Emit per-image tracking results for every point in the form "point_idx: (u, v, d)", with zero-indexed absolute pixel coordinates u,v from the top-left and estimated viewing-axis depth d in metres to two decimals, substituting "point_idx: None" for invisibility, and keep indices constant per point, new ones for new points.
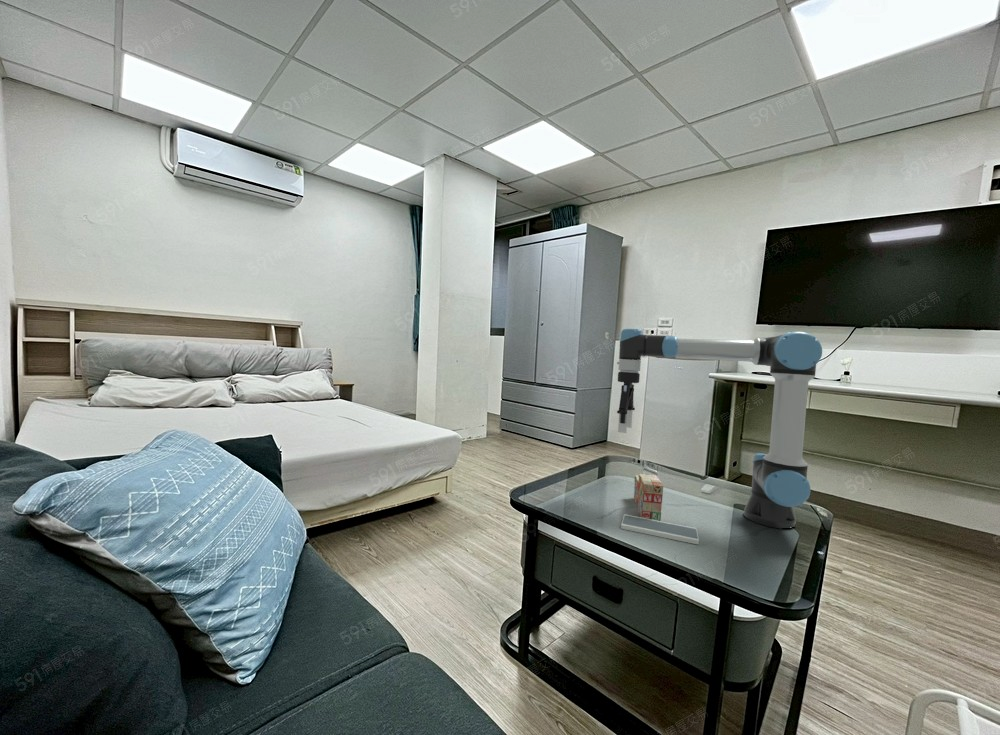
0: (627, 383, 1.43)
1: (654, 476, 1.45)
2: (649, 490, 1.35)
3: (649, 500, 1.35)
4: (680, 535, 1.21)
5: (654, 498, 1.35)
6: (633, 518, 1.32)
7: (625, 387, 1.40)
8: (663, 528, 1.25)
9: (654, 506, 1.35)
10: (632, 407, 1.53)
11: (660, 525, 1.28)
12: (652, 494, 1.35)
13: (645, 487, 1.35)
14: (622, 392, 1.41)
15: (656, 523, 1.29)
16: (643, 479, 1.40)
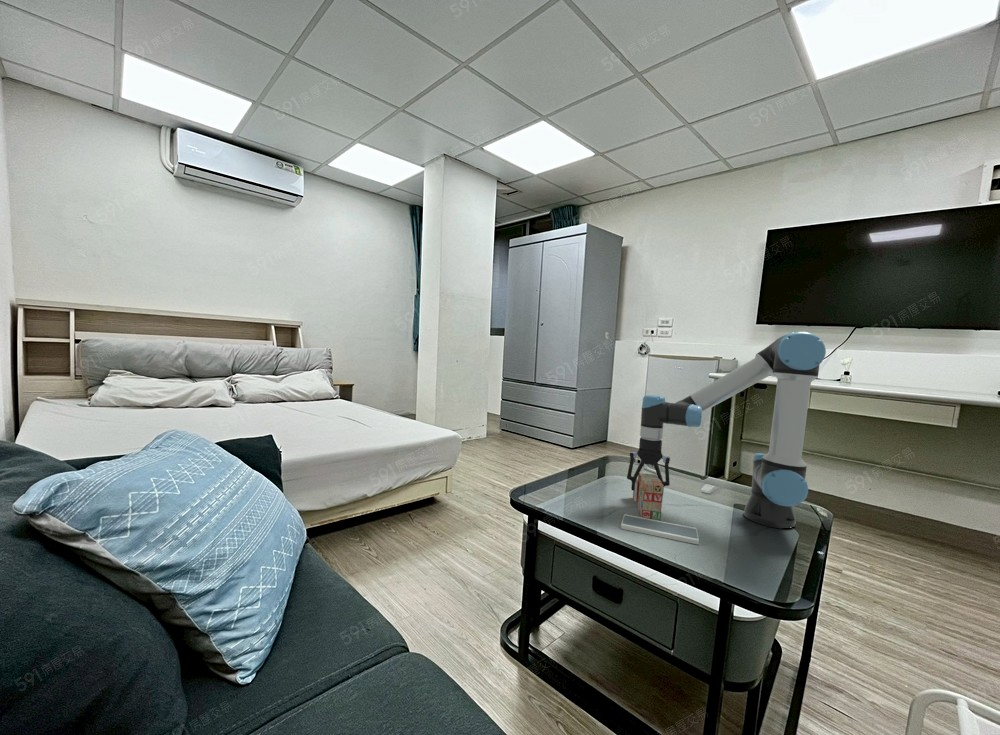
0: (639, 448, 1.46)
1: (654, 475, 1.45)
2: (649, 489, 1.35)
3: (649, 499, 1.36)
4: (680, 535, 1.21)
5: (654, 497, 1.35)
6: (633, 518, 1.32)
7: (630, 454, 1.47)
8: (663, 528, 1.25)
9: (654, 505, 1.35)
10: None
11: (660, 525, 1.28)
12: (652, 493, 1.35)
13: (645, 486, 1.36)
14: None
15: (656, 523, 1.29)
16: (643, 478, 1.41)
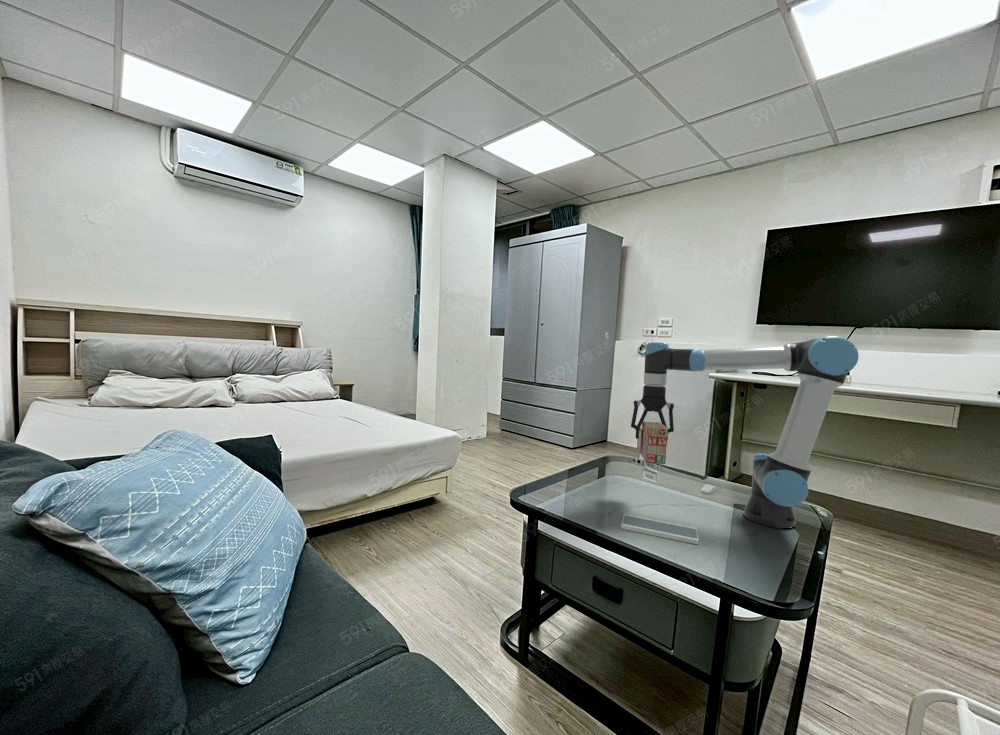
0: None
1: (658, 423, 1.45)
2: (654, 433, 1.35)
3: (654, 443, 1.35)
4: (680, 535, 1.21)
5: (659, 441, 1.35)
6: (633, 518, 1.32)
7: None
8: (663, 528, 1.25)
9: (659, 449, 1.35)
10: None
11: (660, 525, 1.28)
12: (657, 437, 1.35)
13: (650, 430, 1.35)
14: None
15: (656, 523, 1.29)
16: (647, 424, 1.40)
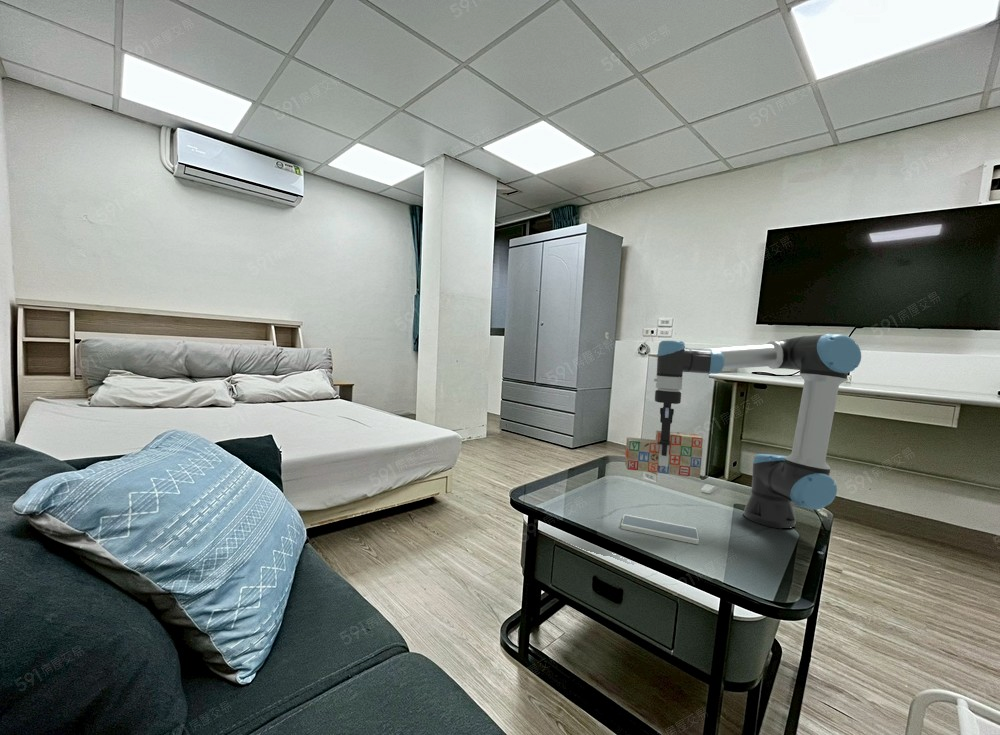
0: (668, 404, 1.23)
1: None
2: None
3: None
4: (680, 535, 1.21)
5: None
6: (633, 518, 1.32)
7: (667, 414, 1.20)
8: (663, 528, 1.25)
9: None
10: None
11: (660, 525, 1.28)
12: None
13: None
14: (663, 419, 1.21)
15: (656, 523, 1.29)
16: (684, 435, 1.23)
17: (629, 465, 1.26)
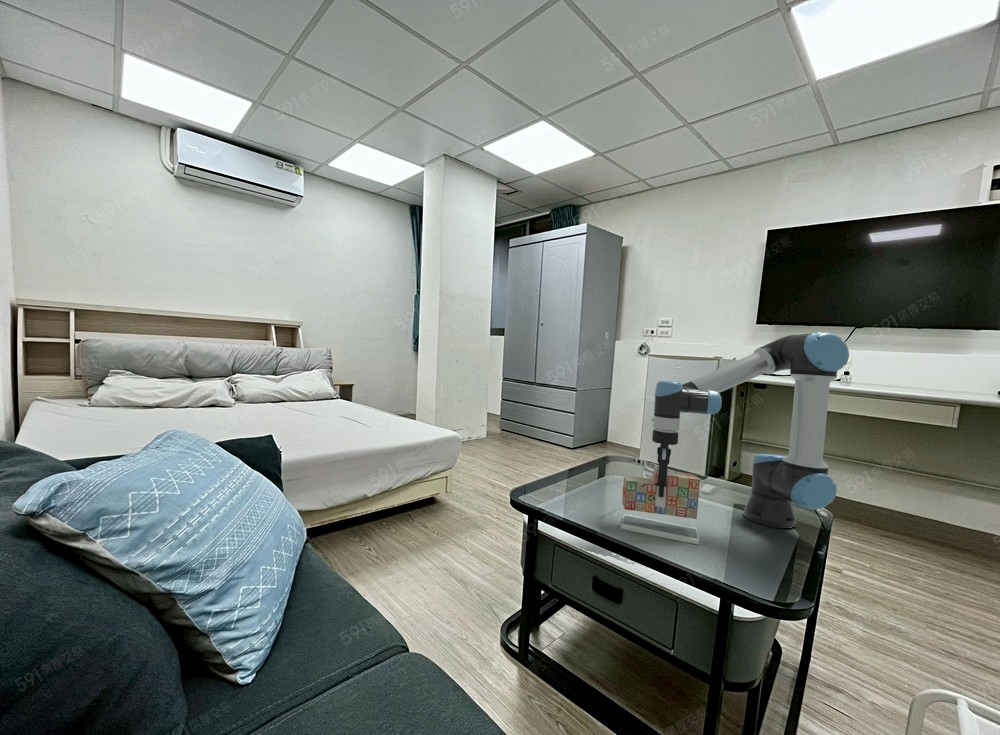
0: (665, 445, 1.23)
1: None
2: None
3: None
4: (680, 535, 1.21)
5: None
6: (633, 518, 1.32)
7: (664, 456, 1.20)
8: (663, 528, 1.25)
9: None
10: None
11: (660, 525, 1.28)
12: None
13: None
14: (660, 461, 1.21)
15: (656, 523, 1.29)
16: (681, 476, 1.23)
17: (626, 505, 1.26)
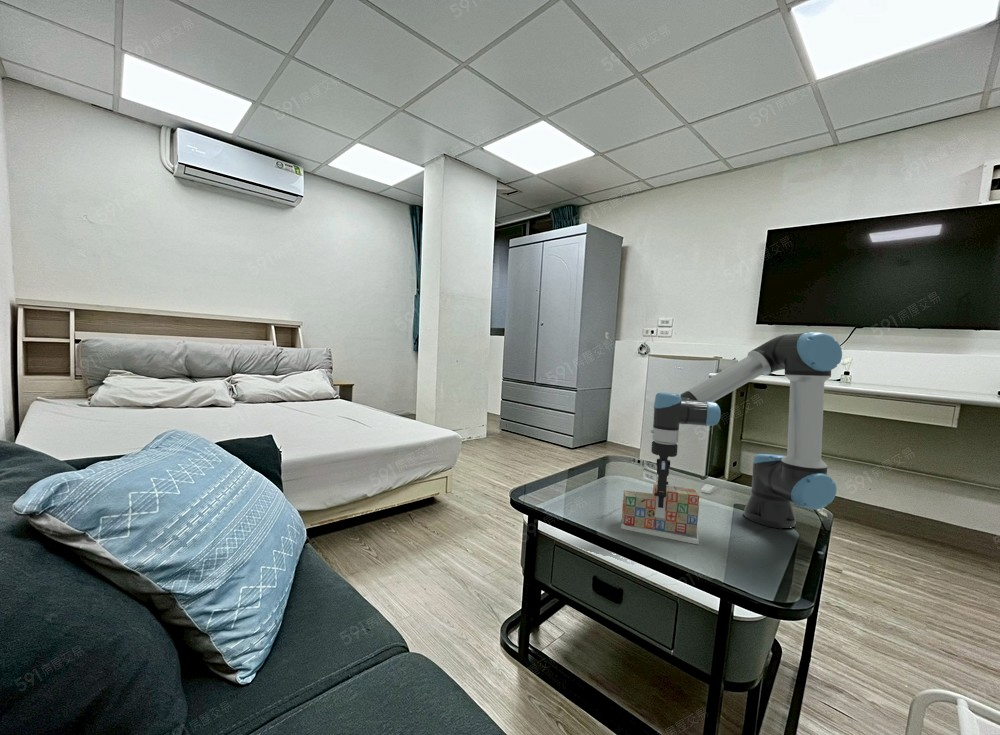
0: (664, 457, 1.23)
1: None
2: None
3: None
4: (680, 535, 1.21)
5: None
6: None
7: (663, 465, 1.20)
8: None
9: None
10: None
11: None
12: None
13: None
14: (660, 471, 1.20)
15: None
16: (681, 492, 1.23)
17: (625, 520, 1.26)
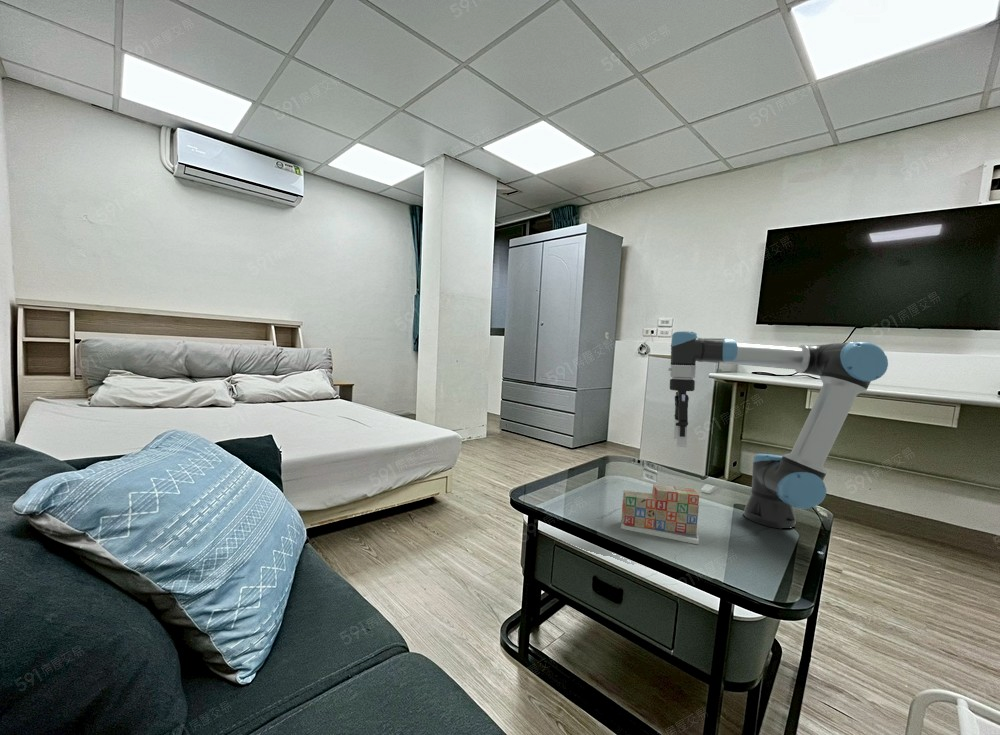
0: (683, 392, 1.30)
1: (659, 485, 1.29)
2: None
3: None
4: (680, 535, 1.21)
5: None
6: None
7: (683, 396, 1.27)
8: None
9: None
10: None
11: None
12: None
13: None
14: (680, 402, 1.27)
15: None
16: (680, 492, 1.23)
17: (626, 520, 1.26)
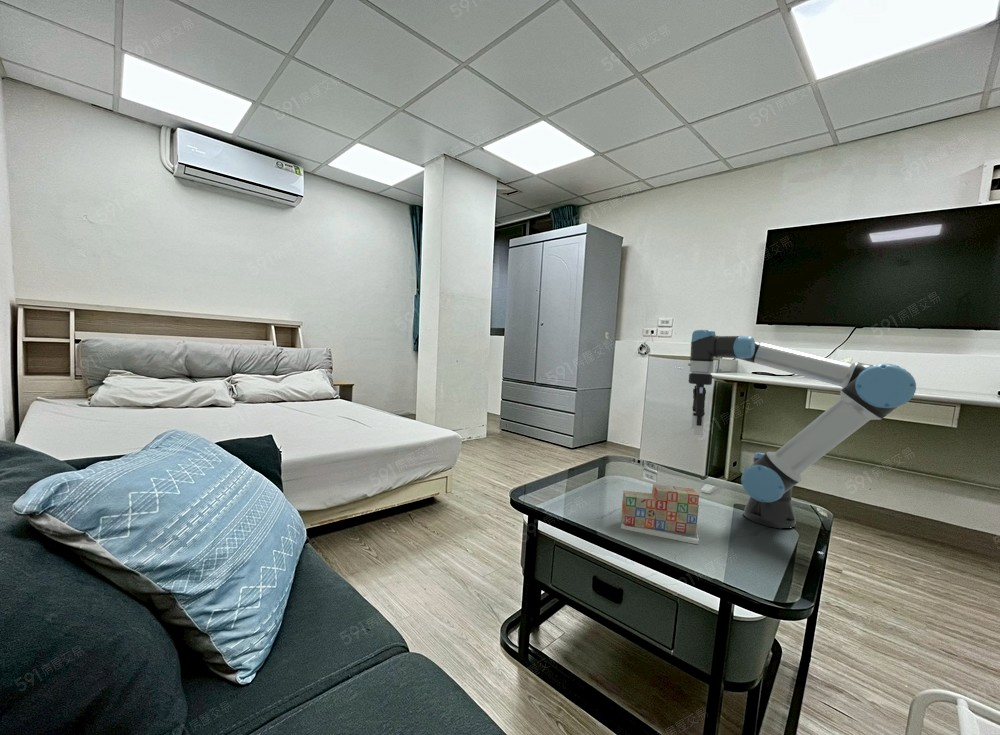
0: (701, 385, 1.42)
1: (658, 485, 1.29)
2: None
3: None
4: (680, 535, 1.21)
5: None
6: None
7: (701, 389, 1.39)
8: None
9: None
10: None
11: None
12: None
13: None
14: (698, 394, 1.39)
15: None
16: (680, 492, 1.23)
17: (626, 520, 1.26)
